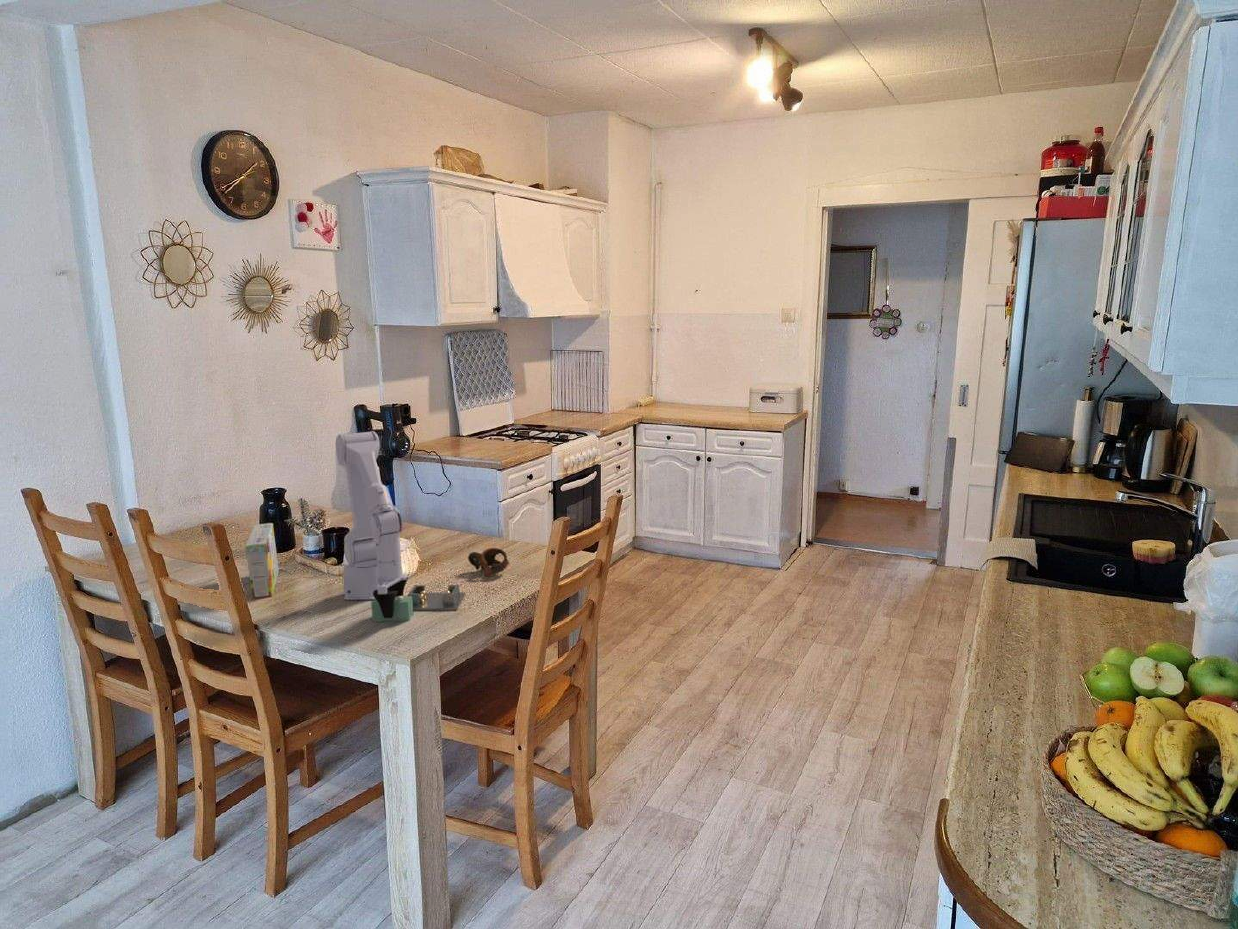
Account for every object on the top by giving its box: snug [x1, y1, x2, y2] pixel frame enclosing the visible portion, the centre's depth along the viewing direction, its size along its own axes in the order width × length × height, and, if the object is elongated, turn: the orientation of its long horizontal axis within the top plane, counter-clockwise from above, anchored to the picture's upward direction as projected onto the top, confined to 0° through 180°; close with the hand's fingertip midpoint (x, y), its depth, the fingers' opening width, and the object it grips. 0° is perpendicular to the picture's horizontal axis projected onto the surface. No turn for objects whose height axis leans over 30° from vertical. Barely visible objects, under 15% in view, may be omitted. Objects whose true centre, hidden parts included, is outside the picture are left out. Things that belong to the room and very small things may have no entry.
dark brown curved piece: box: [467, 547, 510, 579], centre depth 231 cm, size 12×10×8 cm
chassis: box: [407, 584, 466, 612], centre depth 209 cm, size 14×11×4 cm
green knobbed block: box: [371, 595, 414, 622], centre depth 199 cm, size 9×4×6 cm, turn 90°
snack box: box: [245, 522, 280, 599], centre depth 223 cm, size 21×6×15 cm, turn 18°
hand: (392, 611), depth 199 cm, fingers open, 7 cm apart
